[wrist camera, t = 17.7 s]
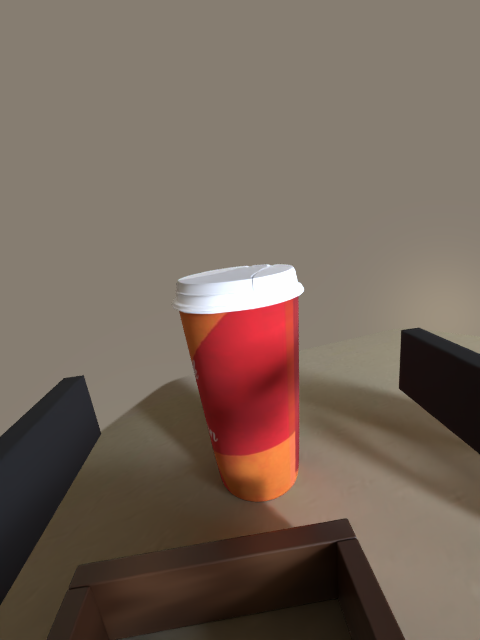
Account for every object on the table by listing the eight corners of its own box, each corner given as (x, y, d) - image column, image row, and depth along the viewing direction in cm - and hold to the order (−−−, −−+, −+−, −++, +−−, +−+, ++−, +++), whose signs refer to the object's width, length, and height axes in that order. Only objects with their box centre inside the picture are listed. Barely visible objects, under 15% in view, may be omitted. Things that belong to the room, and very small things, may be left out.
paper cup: (243, 422, 26) (222, 265, 22) (329, 449, 21) (321, 259, 17) (181, 488, 20) (136, 286, 16) (283, 545, 15) (256, 285, 11)
